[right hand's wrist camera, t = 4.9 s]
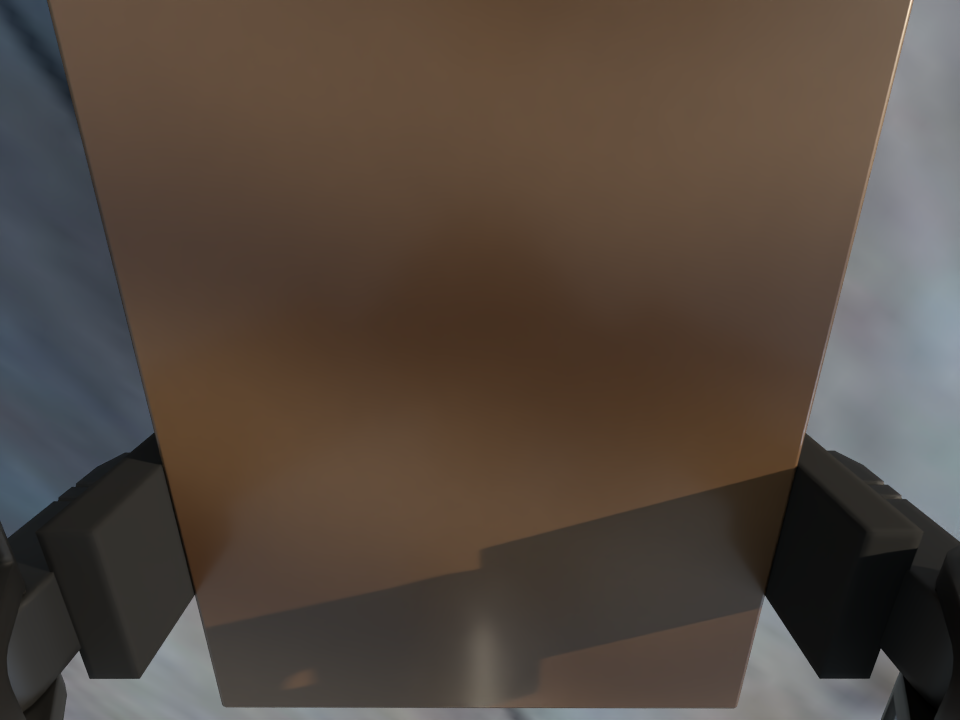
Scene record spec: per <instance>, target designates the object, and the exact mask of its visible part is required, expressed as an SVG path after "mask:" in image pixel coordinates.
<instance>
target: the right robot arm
mask: <svg viewBox="0 0 960 720" xmlns="http://www.w3.org/2000/svg"><path fill="white" fill-rule="evenodd" d="M194 595H195V593H194V589H193V585H192V581H191V577H190V573H189V569H188V565H187V561H186V557H185V553H184V549H183V545H182V540H181V536H180V532H179V528H178V524H177V520H176V516H175V512H174V508H173V504H172V500H171V496H170V492H169V488H168V484H167V480H166V476H165V472H164V468H163V464H162V460H161V456H160V452H159V448H158V444H157V440H156V436H155V433H153V434H152V435H151V436H150V437H149V438H147V439H146V440H145V441H144V442H143V443H141V444H140V445H139V446H138V447H137V448H135V449H134V450H133V451H132V452H131V453H124V454H122V455H120V456H118V457H116V458H114V459H112V460H110V461H108V462H106V463H104V464H102V465H100V466H98V467H96V468H95V469H94V470H93V471H91V472H90V473H89V474H88V475H86V476H85V477H84V478H83V479H81V480H80V481H79V482H78V483H76V487H71V488H70V489H69V490H68V491H66V492H65V493H64V494H63V495H61V496H60V497H59V500H58V501H54V502H53V503H51V504H50V505H49V506H48V507H46V508H45V509H44V510H43V511H41V512H40V513H39V514H38V515H36V516H35V517H34V518H33V519H31V520H30V521H29V522H28V523H26V524H25V525H24V526H23V527H21V528H20V529H19V530H17V531H16V532H15V533H14V534H12V535H11V536H10V537H9V538H7V537H6V534H5V532H4V529H3V527H2V524H1V522H0V720H63V718H64V711H65V705H66V698H67V693H66V687H65V683H64V680H63V678H62V675H61V672H62V671H63V669H64V668H65V667H66V666H67V665H68V663H69V662H70V661H71V660H72V658H73V657H74V656H75V655H76V654H77V652H78V651H80V654H81V657H82V659H83V662H84V665H85V667H86V670H87V673H88V675H89V678H90V679H140V677H141V676H142V674H143V673H144V671H145V670H146V668H147V667H148V665H149V664H150V662H151V661H152V659H153V658H154V656H155V655H156V653H157V651H158V650H159V648H160V647H161V645H162V644H163V642H164V641H165V639H166V638H167V636H168V635H169V633H170V632H171V630H172V629H173V627H174V626H175V624H176V623H177V621H178V620H179V618H180V616H181V615H182V613H183V612H184V610H185V609H186V607H187V606H188V604H189V603H190V601H191V600H192V598H193V597H194ZM765 596H766V598H767V599H768V601H769V602H770V604H771V605H772V607H773V608H774V610H775V611H776V613H777V614H778V616H779V617H780V619H781V620H782V622H783V623H784V625H785V626H786V628H787V630H788V631H789V633H790V634H791V636H792V637H793V639H794V640H795V642H796V643H797V645H798V646H799V648H800V649H801V651H802V652H803V654H804V655H805V657H806V658H807V660H808V661H809V663H810V665H811V666H812V668H813V669H814V671H815V672H816V674H817V675H818V677H819V678H820V679H870V676H871V673H872V671H873V668H874V665H875V663H876V660H877V657H878V654H879V652H880V649H882V650H883V651H884V653H885V654H886V655H887V656H888V657H889V659H890V660H891V661H892V662H893V663H894V665H895V666H896V667H897V668H898V670H899V671H900V673H899V675H898V678H897V680H896V683H895V685H894V688H893V690H892V693H891V695H890V698H889V700H888V703H887V705H886V708H885V710H884V713H883V715H882V718H881V720H960V542H959V541H958V540H957V539H956V538H954V537H953V536H952V535H950V534H949V533H948V532H947V531H945V530H944V529H943V528H942V527H940V526H939V525H938V524H937V523H935V522H934V521H933V520H932V519H930V518H929V517H928V516H927V515H925V514H924V513H923V512H921V511H920V510H919V509H918V508H916V507H915V506H914V505H913V504H911V503H910V502H909V501H908V500H906V499H902V498H901V495H900V494H899V493H898V492H896V491H895V490H894V489H893V488H891V487H890V486H889V485H884V481H882V480H881V479H880V478H879V477H877V476H876V475H875V474H874V473H872V472H871V471H870V470H869V469H867V468H866V467H865V466H864V465H862V464H860V463H858V462H856V461H854V460H852V459H850V458H848V457H846V456H844V455H842V454H840V453H838V452H836V451H826V450H825V449H824V448H823V447H822V446H820V445H819V444H818V443H817V442H816V441H814V440H813V439H812V438H811V437H810V436H808V435H807V434H806V433H805V436H804V440H803V444H802V448H801V452H800V456H799V460H798V464H797V468H796V472H795V476H794V480H793V484H792V488H791V492H790V496H789V500H788V504H787V508H786V512H785V516H784V520H783V524H782V528H781V532H780V536H779V540H778V544H777V548H776V552H775V556H774V560H773V564H772V568H771V572H770V576H769V580H768V584H767V588H766V592H765Z"/></svg>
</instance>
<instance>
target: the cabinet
mask: <svg viewBox="0 0 960 720" xmlns="http://www.w3.org/2000/svg"><path fill="white" fill-rule="evenodd" d="M913 1H914V0H47V2H48V6H49V10H50V14H51V18H52V22H53V26H54V30H55V34H56V38H57V42H58V46H59V50H60V54H61V58H62V62H63V67H64V71H65V75H66V79H67V83H68V87H69V91H70V95H71V99H72V103H73V107H74V111H75V115H76V119H77V123H78V127H79V131H80V135H81V139H82V143H83V147H84V151H85V155H86V159H87V163H88V167H89V171H90V175H91V179H92V183H93V187H94V191H95V195H96V199H97V203H98V207H99V211H100V215H101V219H102V223H103V227H104V231H105V235H106V239H107V243H108V247H109V251H110V255H111V259H112V263H113V267H114V271H115V275H116V279H117V283H118V287H119V291H120V295H121V299H122V304H123V308H124V312H125V316H126V320H127V324H128V328H129V332H130V336H131V340H132V344H133V348H134V352H135V356H136V360H137V364H138V368H139V372H140V376H141V380H142V384H143V388H144V392H145V396H146V400H147V404H148V408H149V412H150V416H151V420H152V424H153V428H154V432H155V436H156V440H157V444H158V448H159V452H160V456H161V460H162V464H163V468H164V472H165V476H166V480H167V484H168V488H169V492H170V496H171V500H172V504H173V508H174V512H175V516H176V520H177V524H178V528H179V532H180V536H181V540H182V545H183V549H184V553H185V557H186V561H187V565H188V569H189V573H190V577H191V581H192V585H193V589H194V593H195V597H196V601H197V605H198V609H199V613H200V617H201V621H202V625H203V629H204V633H205V637H206V641H207V645H208V649H209V653H210V657H211V661H212V665H213V669H214V673H215V677H216V681H217V685H218V689H219V693H220V697H221V701H222V705H223V706H224V707H323V708H735V707H737V704H738V700H739V696H740V692H741V688H742V684H743V680H744V676H745V672H746V668H747V664H748V660H749V656H750V652H751V648H752V644H753V640H754V636H755V632H756V628H757V624H758V620H759V616H760V612H761V608H762V604H763V600H764V596H765V592H766V588H767V584H768V580H769V576H770V572H771V568H772V564H773V560H774V556H775V552H776V548H777V544H778V540H779V536H780V532H781V528H782V524H783V520H784V516H785V512H786V508H787V504H788V500H789V496H790V492H791V488H792V484H793V480H794V476H795V472H796V468H797V464H798V460H799V456H800V452H801V448H802V444H803V440H804V436H805V432H806V428H807V424H808V420H809V416H810V412H811V408H812V404H813V400H814V396H815V392H816V388H817V384H818V380H819V376H820V372H821V369H822V365H823V361H824V357H825V353H826V349H827V345H828V341H829V337H830V333H831V329H832V325H833V321H834V317H835V313H836V309H837V305H838V301H839V297H840V293H841V289H842V285H843V281H844V277H845V273H846V269H847V265H848V261H849V257H850V253H851V249H852V245H853V241H854V237H855V233H856V229H857V225H858V221H859V217H860V213H861V209H862V205H863V201H864V197H865V193H866V189H867V185H868V181H869V177H870V173H871V169H872V165H873V161H874V157H875V153H876V149H877V145H878V141H879V137H880V133H881V129H882V125H883V121H884V117H885V113H886V109H887V105H888V101H889V97H890V93H891V89H892V85H893V81H894V77H895V73H896V69H897V65H898V61H899V57H900V53H901V49H902V45H903V41H904V37H905V33H906V29H907V25H908V21H909V17H910V13H911V9H912V5H913Z"/></svg>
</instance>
